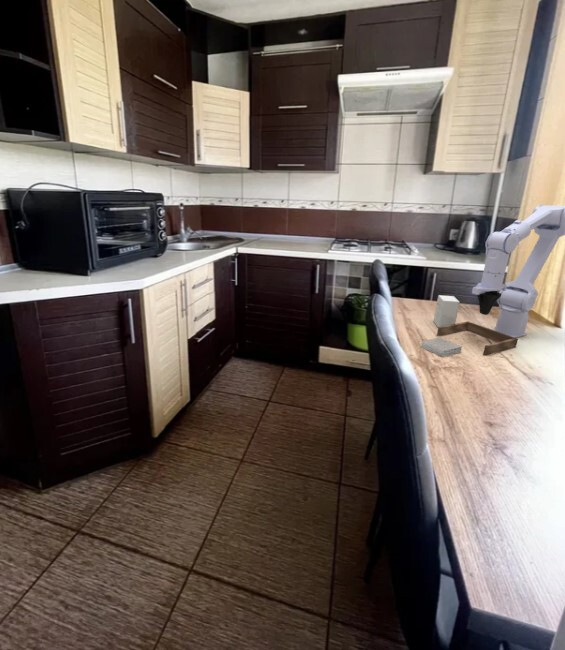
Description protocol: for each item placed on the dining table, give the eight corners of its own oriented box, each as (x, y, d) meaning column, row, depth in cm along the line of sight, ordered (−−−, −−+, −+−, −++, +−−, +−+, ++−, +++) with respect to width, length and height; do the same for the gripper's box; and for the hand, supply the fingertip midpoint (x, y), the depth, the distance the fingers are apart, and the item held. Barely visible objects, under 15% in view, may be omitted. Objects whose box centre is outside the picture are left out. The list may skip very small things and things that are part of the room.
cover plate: (438, 344, 112) (440, 337, 111) (460, 353, 105) (462, 346, 104) (420, 348, 108) (422, 341, 107) (442, 358, 101) (443, 350, 101)
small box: (454, 329, 124) (460, 301, 120) (437, 328, 125) (443, 300, 121) (448, 322, 131) (454, 295, 127) (433, 321, 132) (438, 294, 128)
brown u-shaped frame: (466, 329, 124) (467, 321, 123) (515, 347, 110) (518, 338, 109) (436, 335, 118) (438, 327, 117) (485, 355, 103) (487, 346, 102)
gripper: (495, 268, 113) (486, 307, 118) (467, 271, 107) (458, 312, 111) (517, 272, 107) (506, 313, 112) (488, 275, 101) (478, 319, 105)
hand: (483, 313), depth 111 cm, fingers closed
